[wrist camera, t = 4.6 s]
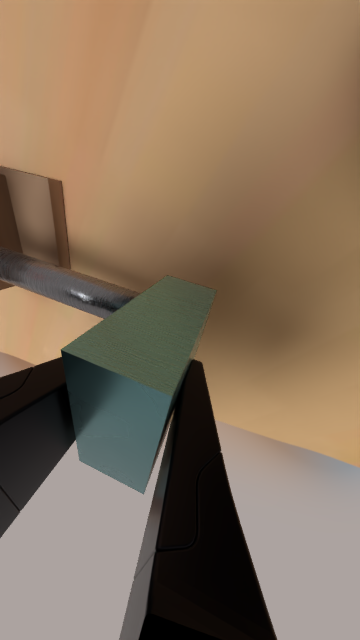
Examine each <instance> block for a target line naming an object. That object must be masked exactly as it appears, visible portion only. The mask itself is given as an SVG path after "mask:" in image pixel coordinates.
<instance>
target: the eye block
mask: <svg viewBox="0 0 360 640" xmlns="http://www.w3.org/2000/svg"><path fill="white" fill-rule="evenodd" d="M0 246H1V247H4V248H7V249H10V250H13V251H16V252H19V253H22V254H25V255H28V256H31V257H34V258H37V259H40V260H43V261H46V262H49V263H52V264H55V265H58V266H60V267H63V268H66V269H69V270H70V261H69V251H68V242H67V232H66V222H65V213H64V203H63V193H62V184H61V181H58V180H54V179H50V178H46V177H42V176H38V175H34V174H30V173H26V172H22V171H18V170H14V169H10V168H6V167H2V166H0ZM13 286H15V285H12V284H10V283H7V282H4V281H2V280H0V290H2V289H6V288H9V287H13Z"/></svg>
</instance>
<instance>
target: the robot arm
mask: <svg viewBox="0 0 360 640" xmlns="http://www.w3.org/2000/svg"><path fill="white" fill-rule="evenodd" d="M75 440H76V436H75V431H74V425H73V419H72V413H71V407H70V401H69V395H68V389H67V383H66V378H65V372H64V366H63V360H62V357H60V358H57V359H54V360H51V361H48V362H45V363H42V364H39V365H36V366H35V367H34V368H33V367H30V368H27V369H25V370H21V371H19V372H15V373H13V374H9V375H6V376H3V377H0V538H1V537H2V535H3V534H4V532H5V531H6V530H7V529H8V527H9V526H10V525H11V523H12V522H13V521H14V519H15V518H16V517H17V516H18V514H19V513H20V511H21V510H22V509H23V508H24V506H25V505H26V504H27V502H28V501H29V500H30V499H31V497H32V496H33V495H34V493H35V492H36V491H37V489H38V488H39V487H40V485H41V484H42V483H43V482H44V480H45V479H46V478H47V476H48V475H49V474H50V472H51V471H52V470H53V469H54V467H55V466H56V465H57V463H58V462H59V461H60V459H61V458H62V457H63V455H64V454H65V453H66V452H67V450H68V449H69V448H70V446H71V445H72V444H73V443H74V441H75ZM119 640H277V637H276V635H275V632H274V629H273V625H272V622H271V619H270V616H269V613H268V610H267V607H266V604H265V600H264V597H263V594H262V591H261V588H260V585H259V581H258V578H257V575H256V572H255V568H254V565H253V562H252V559H251V556H250V552H249V549H248V546H247V543H246V540H245V537H244V534H243V530H242V527H241V524H240V520H239V517H238V514H237V510H236V507H235V503H234V500H233V496H232V493H231V489H230V485H229V481H228V477H227V473H226V469H225V464H224V460H223V455H222V453H221V446H220V442H219V437H218V433H217V428H216V424H215V419H214V414H213V410H212V405H211V401H210V396H209V391H208V387H207V382H206V378H205V373H204V368H203V364H202V362H200V361H197V360H195V359H193V360H192V361H191V364H190V366H189V369H188V371H187V374H186V376H185V379H184V382H183V385H182V388H181V391H180V394H179V397H178V400H177V403H176V406H175V409H174V412H173V416H172V420H171V424H170V428H169V432H168V437H167V441H166V445H165V450H164V453H163V458H162V462H161V466H160V470H159V475H158V479H157V483H156V487H155V491H154V495H153V500H152V505H151V508H150V512H149V516H148V521H147V525H146V529H145V533H144V537H143V542H142V546H141V550H140V554H139V559H138V563H137V567H136V571H135V576H134V581H133V584H132V588H131V592H130V597H129V600H128V605H127V609H126V613H125V617H124V622H123V626H122V630H121V634H120V638H119Z"/></svg>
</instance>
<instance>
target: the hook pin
mask: <svg viewBox="0 0 360 640" xmlns="http://www.w3.org/2000/svg"><path fill="white" fill-rule="evenodd" d="M0 280H2V281H4V282H7V283H10V284H12V285H15V286H18V287H21V288H23V289H26V290H29V291H31V292H34V293H37V294H39V295H42V296H45V297H47V298H50V299H53V300H55V301H58V302H61V303H63V304H66V305H69V306H71V307H74V308H77V309H79V310H82V311H85V312H88V313H90V314H93V315H96V316H98V317H101V318H104V320H103V321H101V322H100V323H98V324H97V325H95V326H94V327H93V328H91V329H90V330H88V331H87V332H85V333H84V334H83V335H81V336H80V337H78V338H77V339H75V340H74V341H72V342H71V343H70V344H68V345H67V346H65V347H64V348H62V349H61V354H62V360H63V366H64V372H65V378H66V383H67V389H68V395H69V401H70V407H71V413H72V419H73V425H74V431H75V436H76V442H77V448H78V454H79V460H80V461H81V462H83V463H85V464H87V465H89V466H91V467H93V468H95V469H97V470H98V471H100V472H102V473H104V474H106V475H108V476H110V477H112V478H114V479H116V480H117V481H119V482H121V483H123V484H125V485H127V486H129V487H131V488H133V489H135V490H137V491H138V492H140V493H142V494H144V492H145V489H146V487H147V484H148V481H149V479H150V476H151V473H152V471H153V468H154V465H155V463H156V460H157V457H158V455H159V452H160V449H161V446H162V444H163V441H164V439H165V436H166V433H167V431H168V428H169V425H170V423H171V420H172V416H173V412H174V409H175V406H176V403H177V400H178V397H179V394H180V391H181V388H182V385H183V382H184V379H185V376H186V374H187V371H188V369H189V366H190V364H191V361H192V360H193V359H194V357H195V354H196V351H197V348H198V345H199V342H200V339H201V336H202V333H203V330H204V327H205V324H206V321H207V318H208V315H209V312H210V309H211V306H212V303H213V300H214V297H215V294H216V291H217V290H213V289H210V288H207V287H204V286H201V285H197V284H194V283H191V282H188V281H185V280H181V279H178V278H175V277H172V276H169V275H167V276H166V277H164V278H163V279H161V280H160V281H159V282H157V283H156V284H154V285H153V286H151V287H150V288H149V289H147V290H146V291H144V292H143V293H138V292H135V291H132V290H129V289H126V288H123V287H120V286H117V285H114V284H111V283H108V282H105V281H102V280H99V279H96V278H93V277H90V276H87V275H84V274H81V273H78V272H75V271H72V270H69V269H66V268H63V267H60V266H58V265H55V264H52V263H49V262H46V261H43V260H40V259H37V258H34V257H31V256H28V255H25V254H22V253H19V252H16V251H13V250H10V249H7V248H4V247H1V246H0Z"/></svg>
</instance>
